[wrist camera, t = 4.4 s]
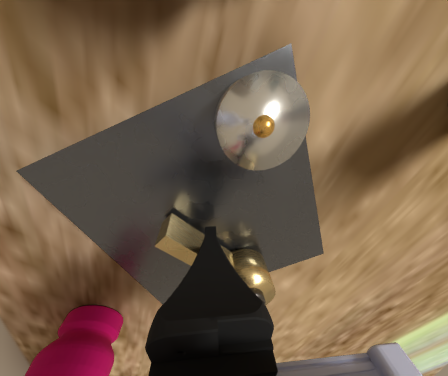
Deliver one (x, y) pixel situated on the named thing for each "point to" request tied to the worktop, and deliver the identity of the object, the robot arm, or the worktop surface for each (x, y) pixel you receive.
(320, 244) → the levelling base
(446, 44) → the worktop surface
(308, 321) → the worktop surface
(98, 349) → the pepper mill
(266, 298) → the brass door handle
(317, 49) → the worktop surface
